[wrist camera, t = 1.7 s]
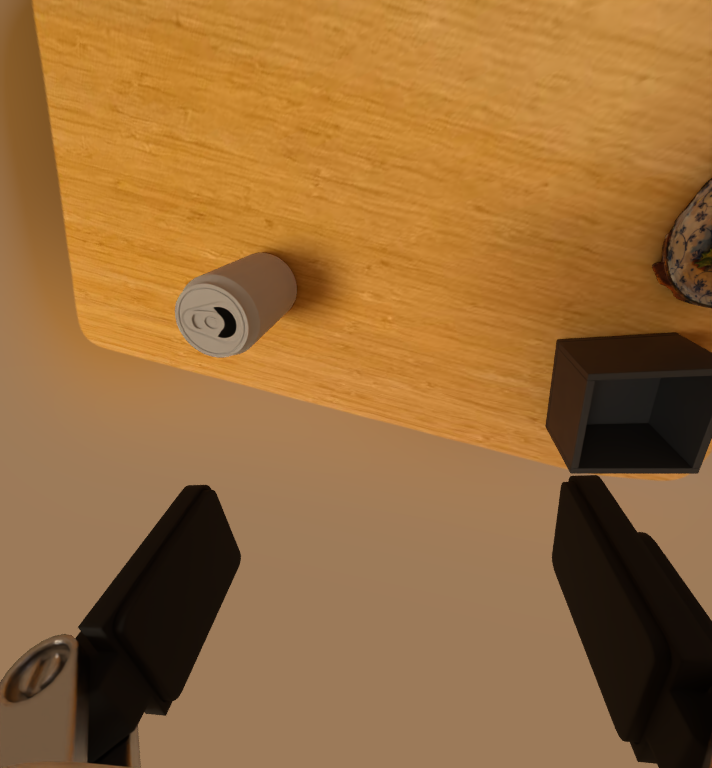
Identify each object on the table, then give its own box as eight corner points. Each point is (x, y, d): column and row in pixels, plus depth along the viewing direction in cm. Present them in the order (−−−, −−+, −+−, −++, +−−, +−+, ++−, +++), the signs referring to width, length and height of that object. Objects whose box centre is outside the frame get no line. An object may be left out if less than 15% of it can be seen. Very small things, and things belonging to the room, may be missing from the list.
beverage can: (300, 317, 39) (257, 366, 28) (241, 312, 39) (178, 358, 29) (297, 253, 36) (248, 281, 25) (234, 249, 36) (160, 275, 26)
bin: (556, 339, 36) (588, 374, 29) (676, 332, 34) (739, 367, 27) (545, 426, 41) (570, 473, 34) (650, 424, 39) (698, 473, 32)
